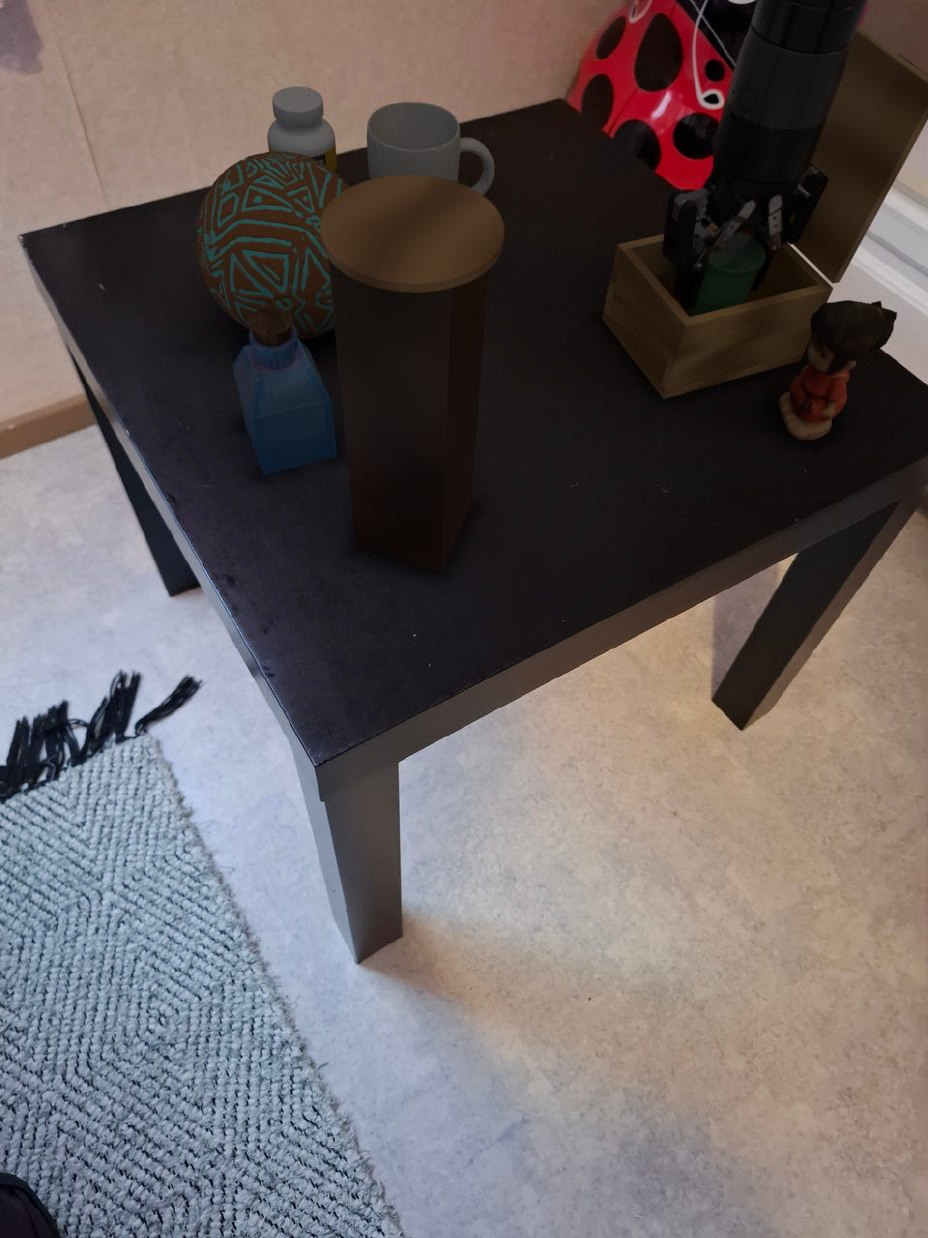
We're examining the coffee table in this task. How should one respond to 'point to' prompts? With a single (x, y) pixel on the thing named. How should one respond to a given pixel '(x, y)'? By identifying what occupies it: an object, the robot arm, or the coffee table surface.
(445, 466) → the tall pedestal column
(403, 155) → the mug
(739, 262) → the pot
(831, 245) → the lid
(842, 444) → the coffee table surface
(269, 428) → the perfume bottle
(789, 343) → the chest
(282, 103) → the pill bottle
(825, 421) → the figurine
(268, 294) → the decorative sphere
